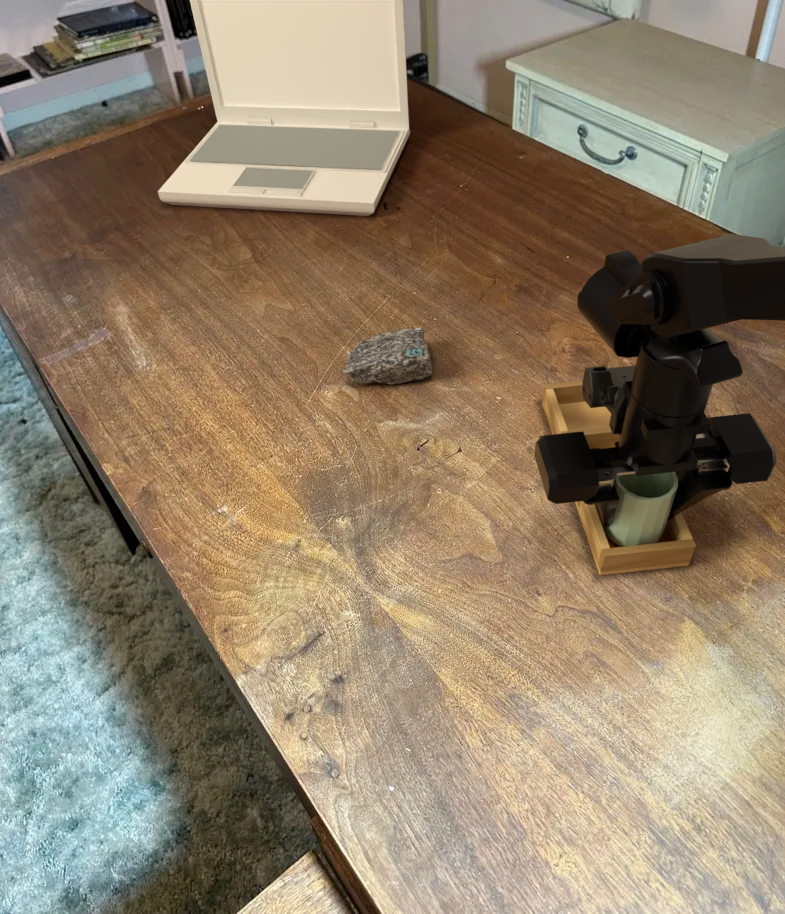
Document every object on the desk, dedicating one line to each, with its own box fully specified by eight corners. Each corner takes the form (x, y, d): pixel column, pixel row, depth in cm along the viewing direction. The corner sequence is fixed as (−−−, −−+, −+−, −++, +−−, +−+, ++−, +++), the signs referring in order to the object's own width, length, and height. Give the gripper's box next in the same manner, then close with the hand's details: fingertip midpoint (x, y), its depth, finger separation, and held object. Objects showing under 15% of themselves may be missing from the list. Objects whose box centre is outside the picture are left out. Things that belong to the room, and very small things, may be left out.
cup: (670, 547, 69) (687, 497, 64) (612, 553, 69) (624, 503, 64) (651, 502, 73) (666, 452, 68) (596, 508, 73) (607, 458, 68)
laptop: (162, 207, 121) (101, 8, 101) (223, 133, 139) (181, -49, 118) (375, 219, 114) (356, 9, 94) (410, 140, 132) (401, -51, 111)
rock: (348, 349, 94) (344, 321, 91) (431, 345, 93) (430, 317, 90) (345, 390, 88) (341, 362, 85) (432, 387, 88) (432, 358, 85)
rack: (688, 565, 69) (696, 545, 67) (599, 575, 69) (604, 556, 67) (615, 396, 85) (619, 375, 83) (542, 404, 85) (544, 384, 83)
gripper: (745, 317, 65) (702, 446, 76) (527, 340, 64) (516, 466, 76) (806, 406, 57) (749, 534, 68) (558, 433, 57) (542, 557, 68)
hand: (635, 519), depth 70 cm, fingers closed on cup, 5 cm apart
